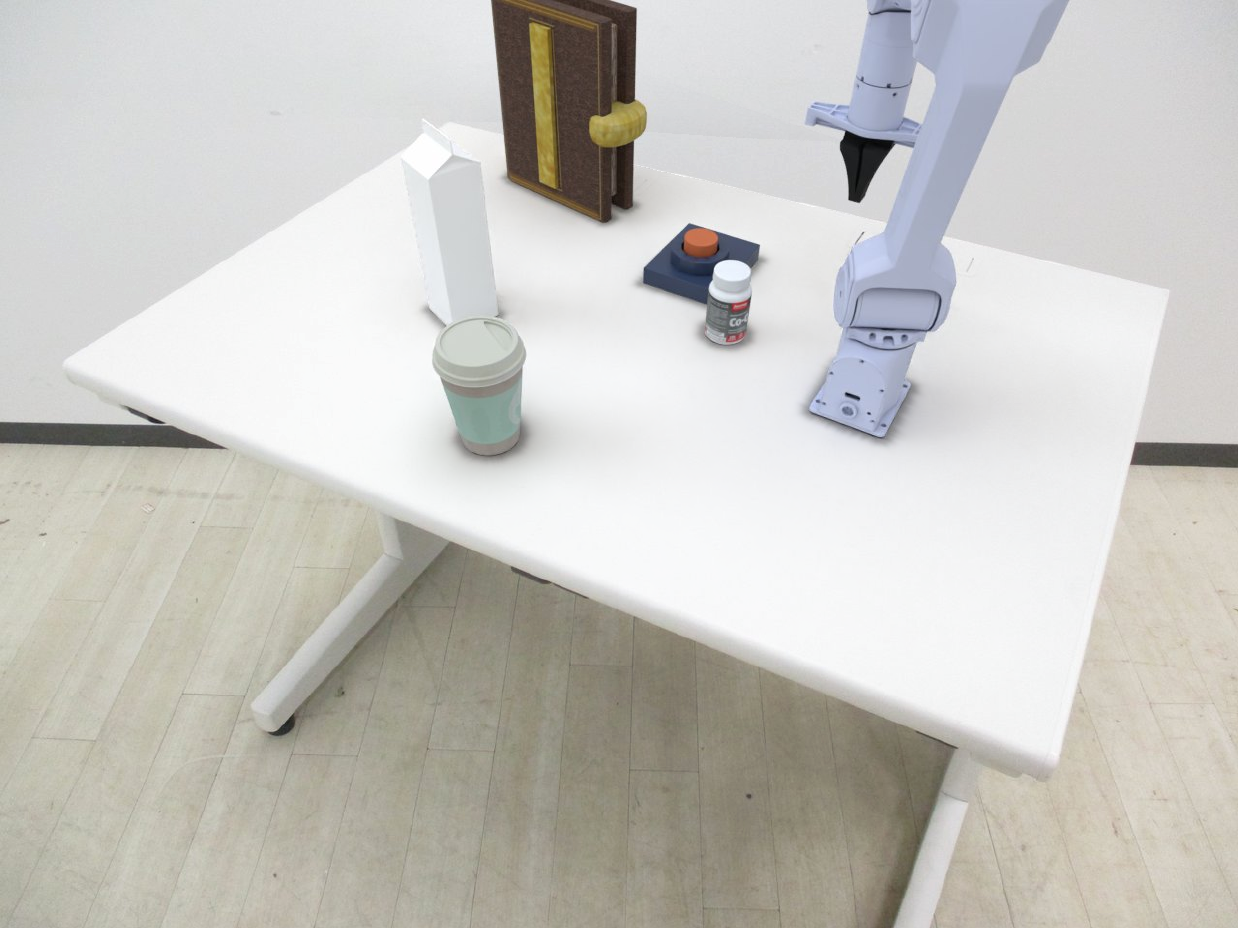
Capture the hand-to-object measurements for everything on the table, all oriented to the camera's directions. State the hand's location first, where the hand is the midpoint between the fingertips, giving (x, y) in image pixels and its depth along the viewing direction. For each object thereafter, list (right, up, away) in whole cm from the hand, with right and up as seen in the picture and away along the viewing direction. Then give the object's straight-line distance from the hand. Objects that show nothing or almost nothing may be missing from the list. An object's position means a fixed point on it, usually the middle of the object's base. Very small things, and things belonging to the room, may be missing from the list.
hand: (856, 198), depth 97 cm
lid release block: (-17, -7, +8) cm, 20 cm away
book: (-34, +7, +21) cm, 40 cm away
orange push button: (-18, -5, +5) cm, 19 cm away
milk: (-45, -13, +2) cm, 47 cm away
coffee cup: (-40, -28, -12) cm, 50 cm away
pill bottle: (-15, -16, -1) cm, 22 cm away
